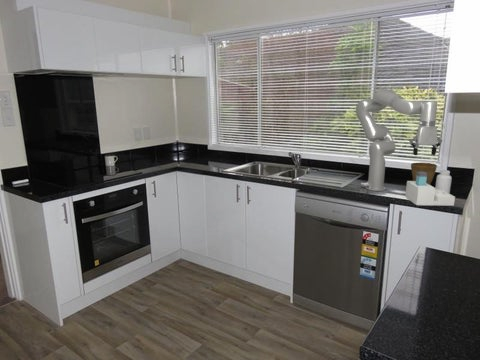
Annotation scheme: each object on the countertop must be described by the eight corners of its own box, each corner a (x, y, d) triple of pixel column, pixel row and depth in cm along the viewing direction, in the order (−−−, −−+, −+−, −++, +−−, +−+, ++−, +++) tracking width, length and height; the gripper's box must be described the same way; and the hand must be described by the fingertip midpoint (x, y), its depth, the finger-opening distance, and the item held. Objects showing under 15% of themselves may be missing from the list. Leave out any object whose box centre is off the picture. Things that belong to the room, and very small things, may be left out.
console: (416, 205, 193) (418, 188, 191) (405, 197, 209) (407, 181, 206) (453, 205, 192) (456, 188, 189) (439, 197, 207) (441, 181, 205)
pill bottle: (445, 197, 207) (448, 172, 204) (432, 194, 214) (434, 170, 210) (451, 194, 212) (454, 170, 208) (438, 192, 218) (441, 168, 215)
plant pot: (421, 184, 237) (423, 161, 233) (439, 189, 223) (442, 165, 219) (403, 186, 232) (405, 163, 229) (421, 192, 219) (423, 167, 215)
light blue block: (417, 192, 197) (419, 173, 195) (414, 190, 201) (416, 171, 199) (425, 192, 197) (427, 173, 194) (421, 190, 201) (424, 171, 198)
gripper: (414, 125, 187) (411, 156, 191) (447, 124, 186) (443, 155, 190) (408, 124, 194) (405, 154, 198) (440, 123, 193) (437, 153, 197)
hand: (424, 154), depth 194 cm, fingers open, 9 cm apart
